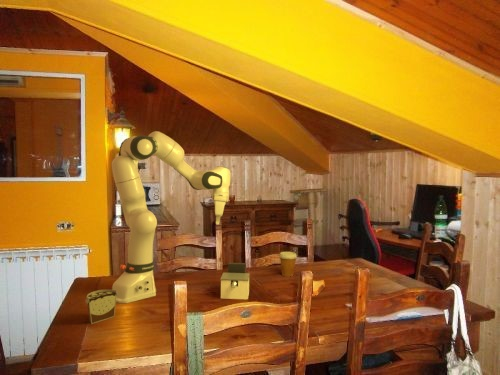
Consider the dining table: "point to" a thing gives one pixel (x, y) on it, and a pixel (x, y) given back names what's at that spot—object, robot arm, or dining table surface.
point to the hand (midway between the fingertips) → (217, 224)
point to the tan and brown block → (101, 305)
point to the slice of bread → (318, 287)
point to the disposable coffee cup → (287, 263)
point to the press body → (241, 287)
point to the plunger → (236, 270)
